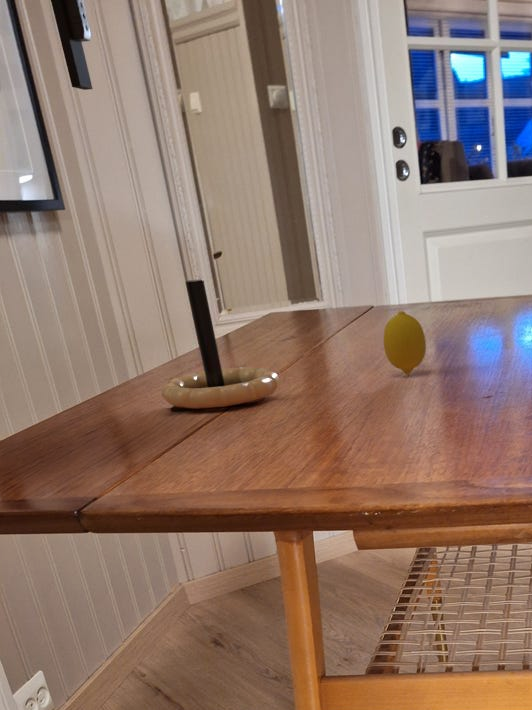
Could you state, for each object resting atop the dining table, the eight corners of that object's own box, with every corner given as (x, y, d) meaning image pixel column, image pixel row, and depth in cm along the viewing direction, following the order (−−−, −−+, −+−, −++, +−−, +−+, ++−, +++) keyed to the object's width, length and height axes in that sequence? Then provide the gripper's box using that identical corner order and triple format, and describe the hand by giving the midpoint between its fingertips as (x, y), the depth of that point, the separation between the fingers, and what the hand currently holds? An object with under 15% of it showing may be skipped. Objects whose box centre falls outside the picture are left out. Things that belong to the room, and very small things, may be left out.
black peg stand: (173, 420, 101) (142, 287, 94) (194, 403, 109) (167, 279, 102) (249, 415, 101) (224, 281, 94) (265, 398, 109) (242, 273, 102)
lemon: (429, 368, 118) (423, 306, 115) (427, 377, 113) (421, 312, 110) (389, 371, 119) (382, 309, 115) (385, 380, 114) (377, 315, 110)
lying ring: (151, 413, 98) (146, 394, 97) (183, 388, 110) (179, 370, 109) (268, 405, 98) (265, 385, 97) (288, 380, 110) (285, 362, 109)
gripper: (95, -232, 68) (160, 86, 78) (-216, -205, 69) (-112, 108, 79) (56, -276, 62) (132, 78, 72) (-289, -246, 62) (-165, 102, 72)
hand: (5, 94), depth 75 cm, fingers open, 13 cm apart
